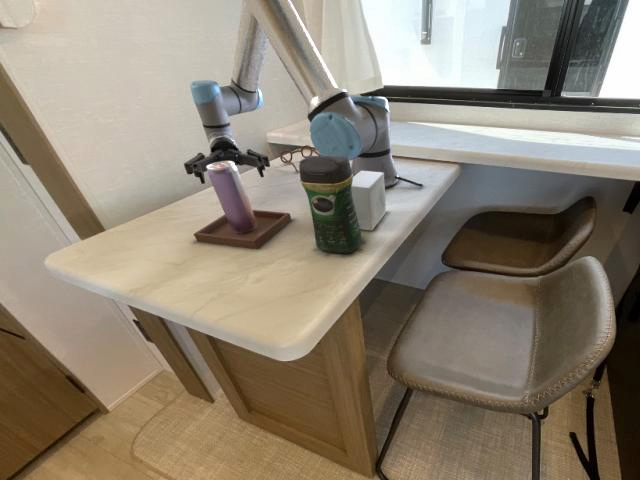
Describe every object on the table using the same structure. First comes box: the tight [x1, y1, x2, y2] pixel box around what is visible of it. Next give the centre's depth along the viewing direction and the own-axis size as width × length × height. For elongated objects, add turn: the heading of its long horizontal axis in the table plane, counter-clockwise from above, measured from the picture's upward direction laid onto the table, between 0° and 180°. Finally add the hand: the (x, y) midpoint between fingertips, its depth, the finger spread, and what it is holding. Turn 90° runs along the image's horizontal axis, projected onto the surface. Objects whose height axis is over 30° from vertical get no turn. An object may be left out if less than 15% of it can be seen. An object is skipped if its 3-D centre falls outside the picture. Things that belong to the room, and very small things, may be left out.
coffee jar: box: [298, 155, 363, 254], centre depth 63 cm, size 10×8×19 cm
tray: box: [193, 209, 292, 250], centre depth 76 cm, size 17×15×2 cm
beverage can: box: [206, 161, 257, 234], centre depth 72 cm, size 6×6×15 cm
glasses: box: [279, 144, 321, 173], centre depth 116 cm, size 13×13×5 cm
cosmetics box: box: [352, 171, 387, 231], centre depth 75 cm, size 10×6×10 cm, turn 163°
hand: (232, 175), depth 78 cm, fingers open, 13 cm apart
